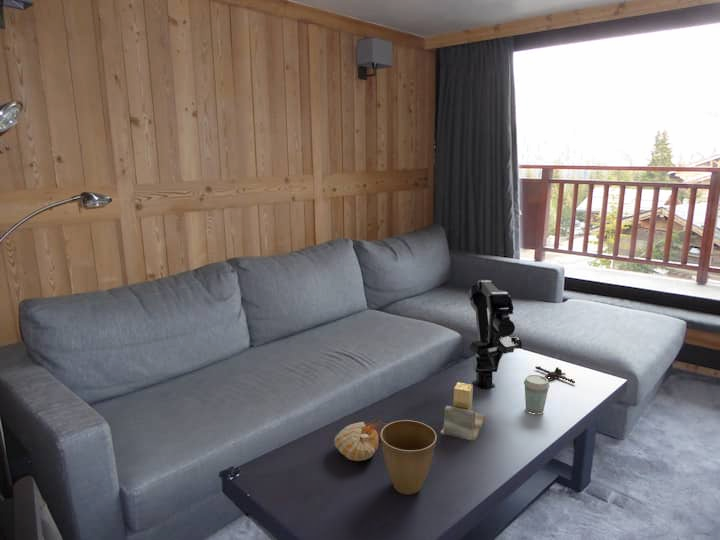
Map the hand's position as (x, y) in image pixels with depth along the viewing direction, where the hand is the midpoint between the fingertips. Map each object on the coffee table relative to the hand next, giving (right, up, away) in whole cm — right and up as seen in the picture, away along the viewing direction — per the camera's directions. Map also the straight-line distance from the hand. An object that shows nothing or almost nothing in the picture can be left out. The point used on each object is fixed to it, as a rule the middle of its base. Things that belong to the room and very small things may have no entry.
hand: (494, 367), depth 188 cm
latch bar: (-15, -16, -16) cm, 27 cm away
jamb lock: (-14, -17, -14) cm, 26 cm away
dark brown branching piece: (+27, -9, +20) cm, 35 cm away
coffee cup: (+13, -15, -5) cm, 20 cm away
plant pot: (-36, -25, -45) cm, 63 cm away
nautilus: (-47, -21, -28) cm, 58 cm away
